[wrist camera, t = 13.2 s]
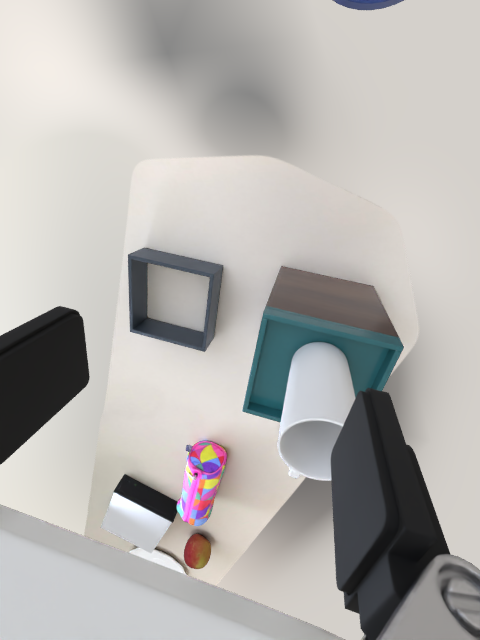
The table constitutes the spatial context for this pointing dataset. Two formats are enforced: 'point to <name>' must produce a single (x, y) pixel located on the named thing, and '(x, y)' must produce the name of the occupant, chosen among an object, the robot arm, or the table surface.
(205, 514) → the pencil case
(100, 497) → the table surface
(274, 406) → the tray
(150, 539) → the disc drive
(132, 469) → the table surface
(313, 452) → the mug
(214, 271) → the dark gray square frame
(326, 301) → the riser
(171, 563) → the plate
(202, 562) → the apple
